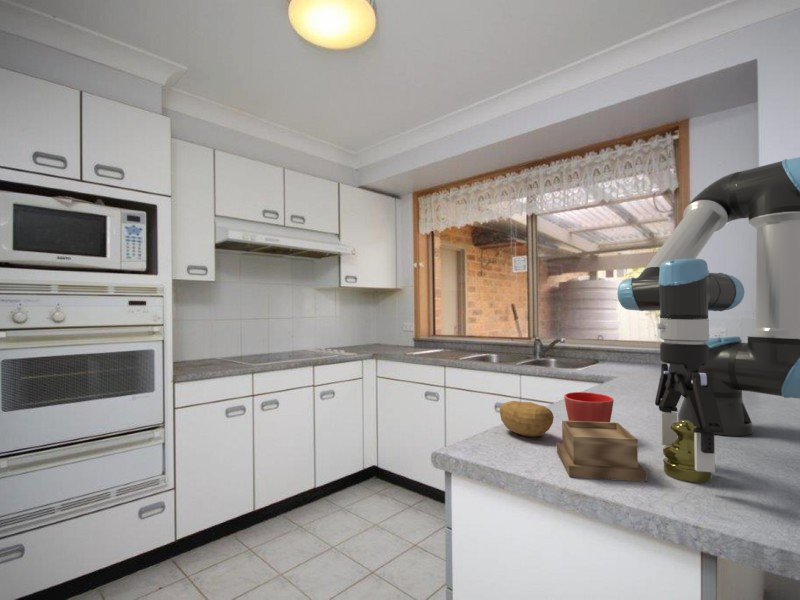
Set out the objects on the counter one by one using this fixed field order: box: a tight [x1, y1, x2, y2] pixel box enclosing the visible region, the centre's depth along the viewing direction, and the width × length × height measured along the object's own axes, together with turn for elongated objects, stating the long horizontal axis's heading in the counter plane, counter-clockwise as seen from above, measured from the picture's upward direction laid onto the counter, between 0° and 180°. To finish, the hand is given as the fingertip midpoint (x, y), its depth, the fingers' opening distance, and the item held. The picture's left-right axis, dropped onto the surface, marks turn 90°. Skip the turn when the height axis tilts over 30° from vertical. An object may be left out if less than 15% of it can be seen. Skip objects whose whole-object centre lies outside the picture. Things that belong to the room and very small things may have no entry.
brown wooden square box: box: [556, 419, 647, 482], centre depth 81 cm, size 13×13×7 cm
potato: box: [499, 400, 554, 438], centre depth 101 cm, size 10×14×8 cm
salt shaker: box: [662, 420, 712, 484], centre depth 76 cm, size 7×7×10 cm
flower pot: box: [563, 391, 614, 422], centre depth 99 cm, size 11×11×10 cm
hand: (685, 457), depth 76 cm, fingers open, 13 cm apart
